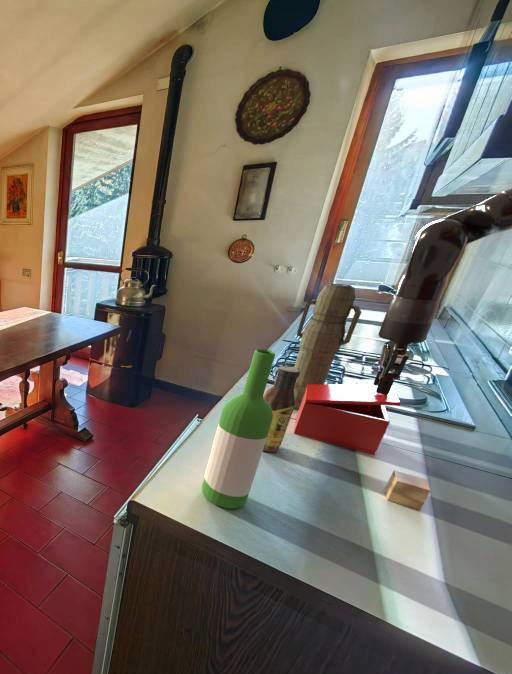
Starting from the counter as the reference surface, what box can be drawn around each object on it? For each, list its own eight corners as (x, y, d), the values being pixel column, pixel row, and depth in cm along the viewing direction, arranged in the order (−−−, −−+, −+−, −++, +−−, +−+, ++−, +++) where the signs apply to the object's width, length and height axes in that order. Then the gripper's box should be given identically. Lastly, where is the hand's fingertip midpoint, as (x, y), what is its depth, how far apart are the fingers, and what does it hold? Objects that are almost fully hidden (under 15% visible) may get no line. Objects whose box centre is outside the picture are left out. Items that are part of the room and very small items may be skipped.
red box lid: (392, 388, 95) (394, 368, 93) (400, 405, 85) (401, 384, 84) (307, 387, 105) (307, 369, 104) (305, 402, 96) (305, 383, 95)
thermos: (321, 416, 108) (369, 289, 95) (272, 403, 116) (310, 283, 102) (326, 407, 114) (372, 285, 101) (279, 394, 122) (316, 280, 108)
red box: (370, 433, 100) (383, 403, 96) (374, 455, 91) (390, 421, 87) (296, 415, 109) (306, 387, 105) (293, 433, 99) (304, 402, 96)
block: (415, 497, 77) (426, 478, 75) (419, 510, 73) (430, 490, 71) (384, 488, 79) (393, 469, 77) (387, 500, 76) (396, 480, 74)
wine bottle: (231, 485, 79) (273, 344, 68) (254, 511, 72) (305, 359, 61) (193, 484, 79) (229, 344, 68) (212, 511, 72) (256, 359, 60)
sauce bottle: (272, 456, 89) (299, 376, 82) (243, 444, 94) (267, 368, 86) (283, 447, 93) (311, 370, 85) (255, 436, 98) (279, 362, 90)
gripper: (439, 327, 78) (407, 404, 84) (426, 314, 88) (398, 384, 94) (388, 322, 82) (361, 395, 88) (381, 311, 92) (357, 377, 99)
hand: (380, 389), depth 91 cm, fingers closed on red box lid, 5 cm apart
